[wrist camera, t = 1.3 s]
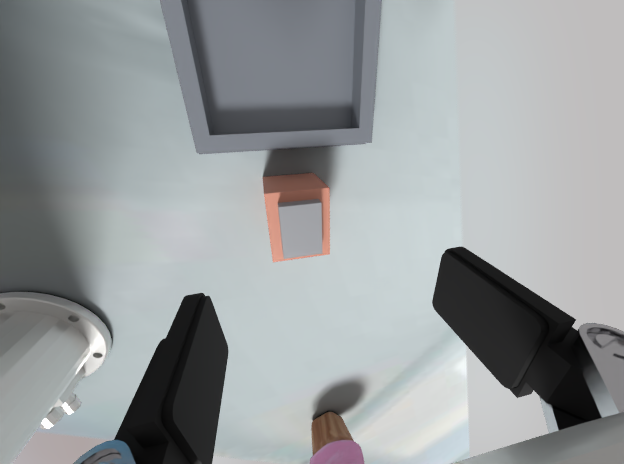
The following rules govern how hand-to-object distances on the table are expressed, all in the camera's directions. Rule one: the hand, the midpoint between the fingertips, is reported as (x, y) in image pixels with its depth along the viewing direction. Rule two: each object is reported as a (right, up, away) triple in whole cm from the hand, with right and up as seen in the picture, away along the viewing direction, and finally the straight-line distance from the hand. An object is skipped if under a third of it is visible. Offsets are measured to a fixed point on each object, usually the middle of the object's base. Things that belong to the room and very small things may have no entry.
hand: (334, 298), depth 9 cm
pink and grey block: (-3, +6, +15) cm, 16 cm away
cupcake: (+2, -32, +34) cm, 46 cm away
